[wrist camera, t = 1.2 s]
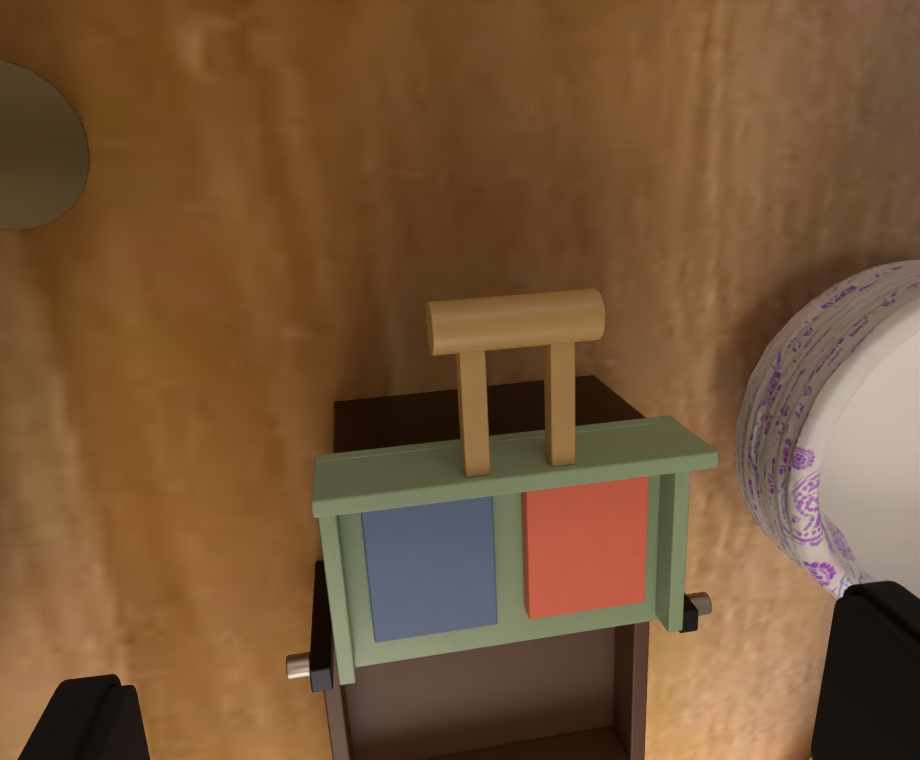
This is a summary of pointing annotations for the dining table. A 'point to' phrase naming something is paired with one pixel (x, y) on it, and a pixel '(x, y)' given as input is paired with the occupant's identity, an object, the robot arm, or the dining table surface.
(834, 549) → the paper bowls
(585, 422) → the stand
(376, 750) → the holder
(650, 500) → the green handled tray
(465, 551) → the blue sachet
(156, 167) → the dining table surface
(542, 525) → the coral sachet
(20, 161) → the pepper mill
